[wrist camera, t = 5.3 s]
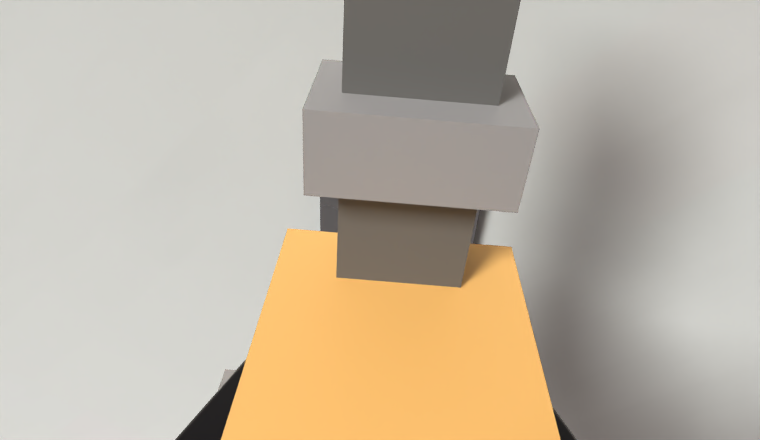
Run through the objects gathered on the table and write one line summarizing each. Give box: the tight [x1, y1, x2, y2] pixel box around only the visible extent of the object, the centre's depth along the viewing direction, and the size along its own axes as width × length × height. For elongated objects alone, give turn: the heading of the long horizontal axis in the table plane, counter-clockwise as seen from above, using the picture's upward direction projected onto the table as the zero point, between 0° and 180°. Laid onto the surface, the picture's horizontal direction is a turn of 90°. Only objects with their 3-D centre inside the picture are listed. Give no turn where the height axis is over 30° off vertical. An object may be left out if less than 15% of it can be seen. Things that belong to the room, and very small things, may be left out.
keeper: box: [320, 197, 480, 244], centre depth 20 cm, size 6×6×5 cm
